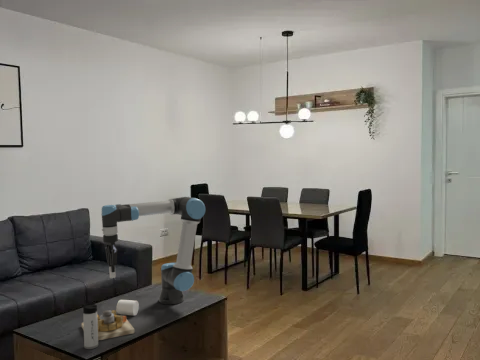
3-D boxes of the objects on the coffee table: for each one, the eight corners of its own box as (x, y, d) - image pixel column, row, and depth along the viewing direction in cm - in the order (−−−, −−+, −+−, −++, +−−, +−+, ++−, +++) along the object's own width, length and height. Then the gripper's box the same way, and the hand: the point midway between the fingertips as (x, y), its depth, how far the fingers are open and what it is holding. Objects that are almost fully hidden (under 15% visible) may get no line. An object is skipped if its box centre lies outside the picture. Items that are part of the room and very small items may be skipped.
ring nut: (87, 323, 227) (87, 314, 227) (120, 316, 237) (120, 307, 237) (96, 333, 214) (96, 323, 214) (131, 325, 225) (131, 315, 224)
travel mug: (87, 343, 210) (85, 302, 208) (100, 343, 209) (99, 302, 208) (81, 349, 203) (79, 306, 202) (94, 349, 203) (93, 307, 202)
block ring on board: (123, 318, 240) (123, 301, 240) (134, 332, 221) (134, 314, 221) (81, 326, 230) (81, 308, 229) (89, 342, 211) (88, 323, 210)
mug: (133, 317, 242) (132, 303, 242) (116, 316, 244) (115, 302, 244) (142, 309, 254) (141, 296, 253) (126, 308, 256) (125, 295, 255)
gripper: (99, 233, 236) (101, 276, 238) (107, 237, 225) (110, 281, 227) (112, 231, 240) (114, 273, 242) (121, 234, 230) (124, 278, 232)
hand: (112, 277), depth 235 cm, fingers closed
